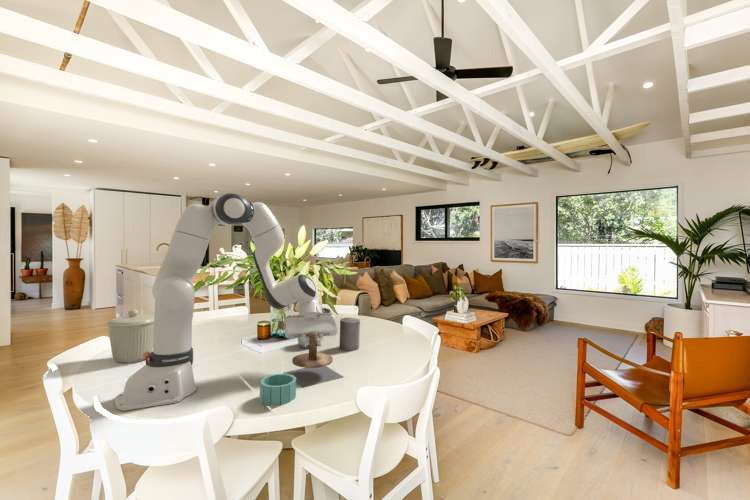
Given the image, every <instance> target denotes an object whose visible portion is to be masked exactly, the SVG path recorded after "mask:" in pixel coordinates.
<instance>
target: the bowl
mask: <svg viewBox="0 0 750 500" xmlns="http://www.w3.org/2000/svg"><path fill="white" fill-rule="evenodd" d="M259 385H260V386H259V402H260V403H261V404H262V405H263V406H268V407H270V406H280V405H284V404H288V403H290V402H292V401H294V400H295V399H296V398H297V383H296V377H295V376H293V375H290V374H284V373H273V374H270V375H267V376H264V377H262V379H261V380H260V381H259Z"/></svg>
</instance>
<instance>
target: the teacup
mask: <svg viewBox="0 0 750 500" xmlns="http://www.w3.org/2000/svg"><path fill="white" fill-rule="evenodd" d="M305 339H306V340H307V341H309V337H306V338H305ZM317 340H319V337H317ZM297 343H298V345H300V346H301V347H302V348H306V347H305V343H304V342H303V341H302V339H301V338H297Z"/></svg>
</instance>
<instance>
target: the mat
mask: <svg viewBox="0 0 750 500" xmlns="http://www.w3.org/2000/svg"><path fill="white" fill-rule="evenodd" d="M282 374H290V375H293V376H295V377H296V385H298V387H299V386H300V388H303V389H304V388H307V387H310V386H311V387H312V386H314V385H315V386H316V385H318V384H322V383H327V382H331V381H335V380H339V379H343V378H344V376H343V375H342V374H340V373H339V372H336V371H335V370H333V369H331V368H330V367H328V365H327V366H323V367H317V368H304V367H301V368H297V369H294V370H288V371H285V372H283V373H282Z"/></svg>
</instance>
